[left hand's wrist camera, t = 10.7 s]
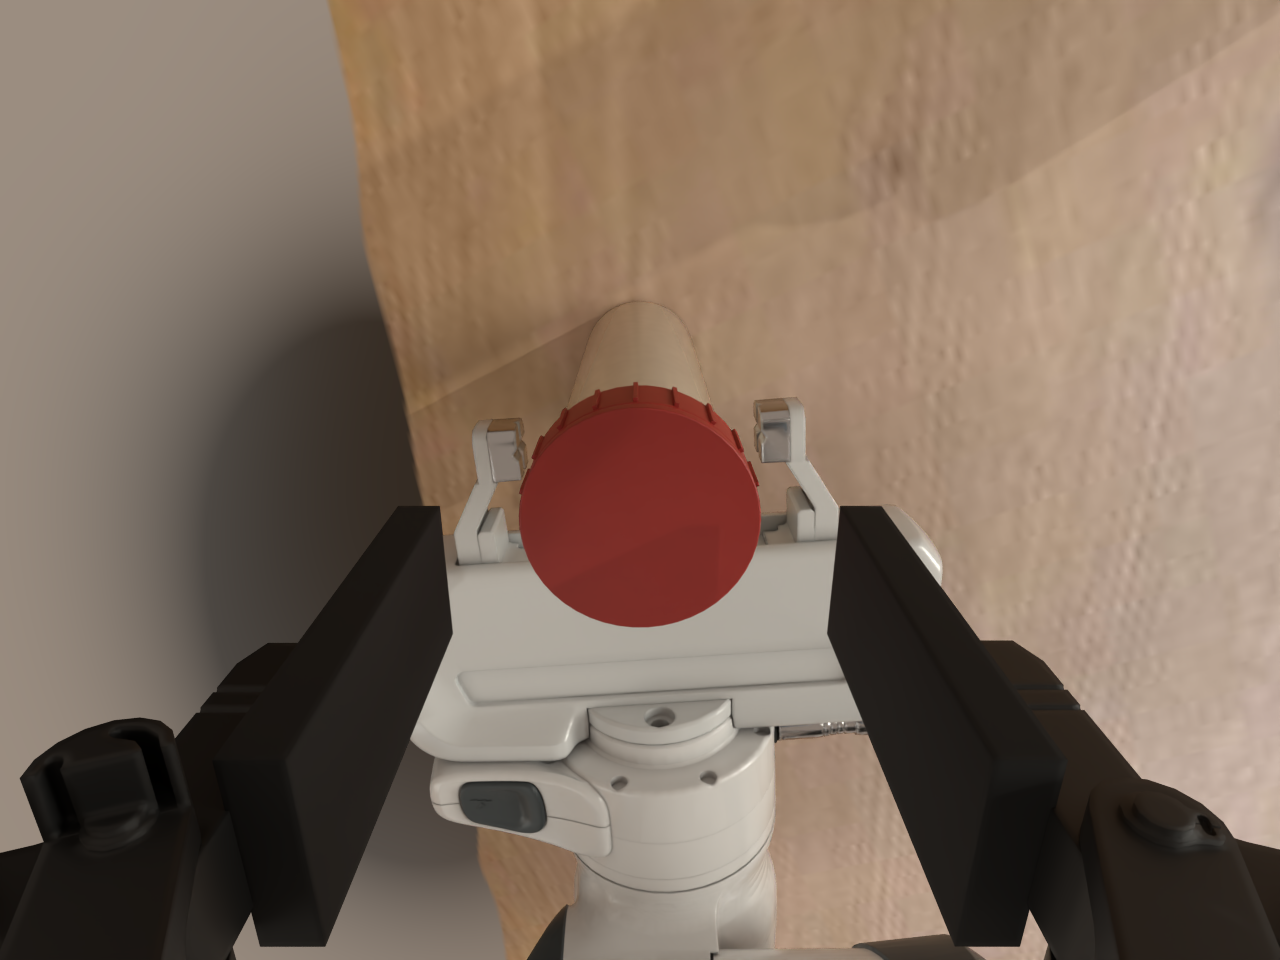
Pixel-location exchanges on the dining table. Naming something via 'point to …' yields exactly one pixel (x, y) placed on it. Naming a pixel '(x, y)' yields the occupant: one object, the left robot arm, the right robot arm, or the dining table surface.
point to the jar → (639, 353)
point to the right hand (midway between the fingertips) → (636, 412)
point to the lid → (639, 507)
